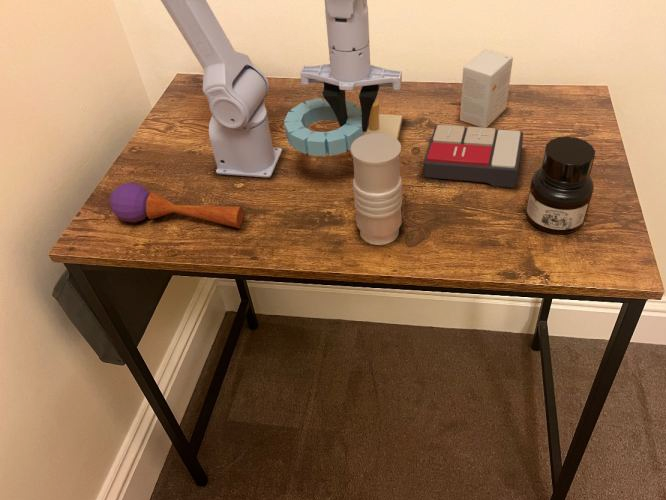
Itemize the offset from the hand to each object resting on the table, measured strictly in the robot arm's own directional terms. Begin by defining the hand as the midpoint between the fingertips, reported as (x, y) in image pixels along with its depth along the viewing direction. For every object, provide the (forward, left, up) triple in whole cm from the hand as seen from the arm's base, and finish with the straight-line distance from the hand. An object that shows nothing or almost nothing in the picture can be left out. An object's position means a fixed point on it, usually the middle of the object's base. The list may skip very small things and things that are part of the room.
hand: (354, 127), depth 96 cm
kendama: (-26, -14, -10) cm, 31 cm away
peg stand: (+1, +13, -9) cm, 16 cm away
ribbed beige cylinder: (+6, -13, -10) cm, 17 cm away
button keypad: (+19, +6, -10) cm, 22 cm away
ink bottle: (+32, -6, -10) cm, 34 cm away
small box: (+20, +21, -10) cm, 30 cm away
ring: (-5, 0, -1) cm, 5 cm away
